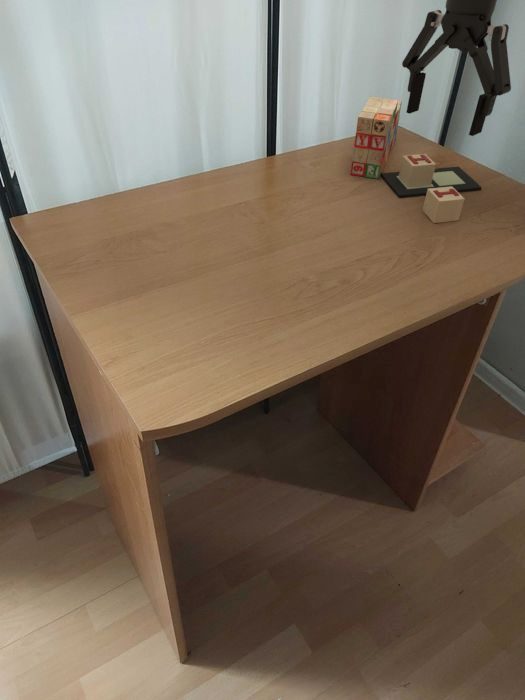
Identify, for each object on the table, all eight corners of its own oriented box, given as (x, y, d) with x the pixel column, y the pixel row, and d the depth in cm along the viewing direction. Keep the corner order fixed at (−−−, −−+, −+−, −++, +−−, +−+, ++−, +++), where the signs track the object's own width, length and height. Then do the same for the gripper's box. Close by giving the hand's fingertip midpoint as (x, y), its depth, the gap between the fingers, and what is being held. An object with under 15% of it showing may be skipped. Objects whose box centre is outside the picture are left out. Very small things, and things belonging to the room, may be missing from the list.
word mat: (481, 190, 109) (482, 186, 109) (398, 198, 107) (399, 194, 106) (458, 168, 117) (458, 165, 116) (380, 175, 114) (380, 172, 113)
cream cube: (431, 185, 109) (436, 163, 106) (408, 187, 108) (412, 165, 105) (420, 174, 113) (425, 152, 110) (398, 176, 112) (402, 154, 109)
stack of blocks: (369, 137, 128) (377, 82, 120) (395, 141, 127) (405, 86, 119) (349, 174, 114) (357, 115, 105) (379, 179, 112) (389, 119, 104)
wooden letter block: (446, 207, 104) (452, 185, 101) (458, 220, 100) (465, 197, 97) (422, 210, 103) (427, 187, 100) (433, 223, 100) (439, 200, 96)
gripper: (396, -27, 88) (376, 107, 102) (538, -2, 74) (491, 149, 88) (424, -32, 91) (401, 99, 106) (565, -9, 77) (516, 138, 92)
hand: (442, 122), depth 97 cm, fingers open, 13 cm apart
